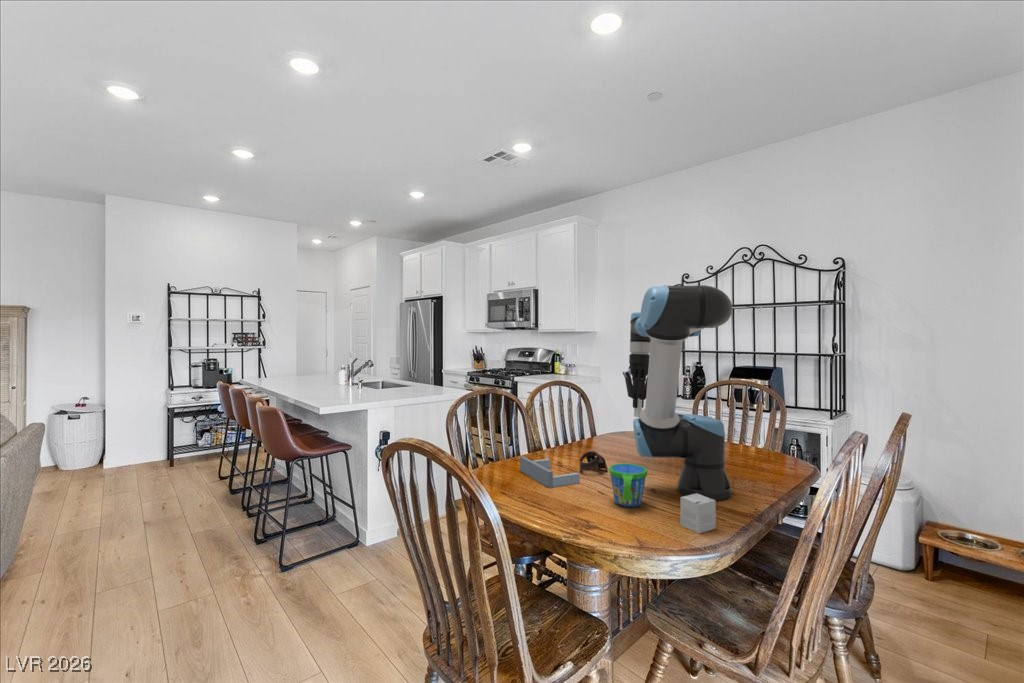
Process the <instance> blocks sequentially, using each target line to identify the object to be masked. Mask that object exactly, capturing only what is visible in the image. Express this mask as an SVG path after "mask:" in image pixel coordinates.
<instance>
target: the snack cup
mask: <svg viewBox="0 0 1024 683" xmlns="http://www.w3.org/2000/svg"><path fill="white" fill-rule="evenodd" d="M608 468H609V469H608V473H609V475H610V479H611V480H610V481H611V488H612V493H613V499H614V502H615V503H616V505H618V506H622V507H625V508H634V507H635V508H636V507H639V506H641V504H642V502H643V495H644V490H645V483H646V477H647V476H648V470H647V469H648V468H646V467H644V466H643V465H639V464H635V463H626V462H624V463H622V462H621V463H614V464H611V465H610V466H609V467H608Z"/></svg>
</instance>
